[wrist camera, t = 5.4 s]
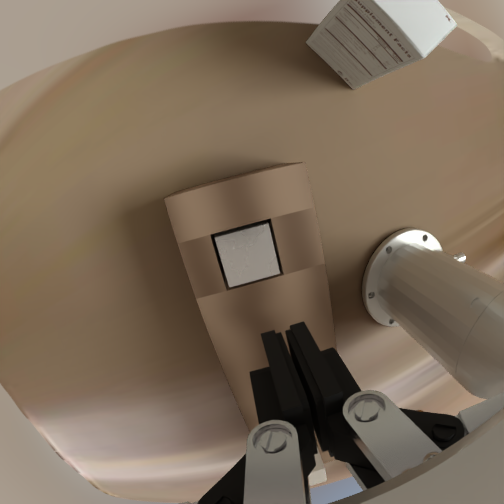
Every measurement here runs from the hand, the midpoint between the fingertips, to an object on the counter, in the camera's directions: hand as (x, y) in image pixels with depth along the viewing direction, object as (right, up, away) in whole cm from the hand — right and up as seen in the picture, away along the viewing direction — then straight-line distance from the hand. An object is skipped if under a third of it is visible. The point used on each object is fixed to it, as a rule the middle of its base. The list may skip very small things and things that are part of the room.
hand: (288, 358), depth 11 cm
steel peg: (-2, +5, +18) cm, 19 cm away
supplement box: (+9, +26, +14) cm, 30 cm away
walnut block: (+1, -7, +22) cm, 23 cm away
